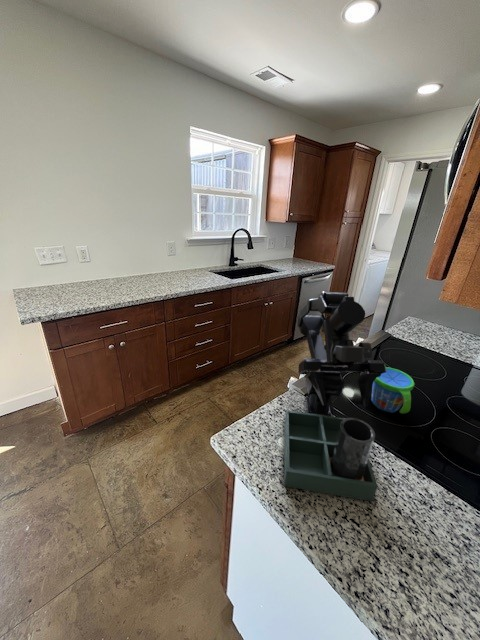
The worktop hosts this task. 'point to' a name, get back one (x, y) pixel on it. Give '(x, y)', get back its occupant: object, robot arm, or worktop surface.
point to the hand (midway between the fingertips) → (344, 406)
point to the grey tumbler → (352, 449)
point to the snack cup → (392, 391)
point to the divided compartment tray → (319, 457)
